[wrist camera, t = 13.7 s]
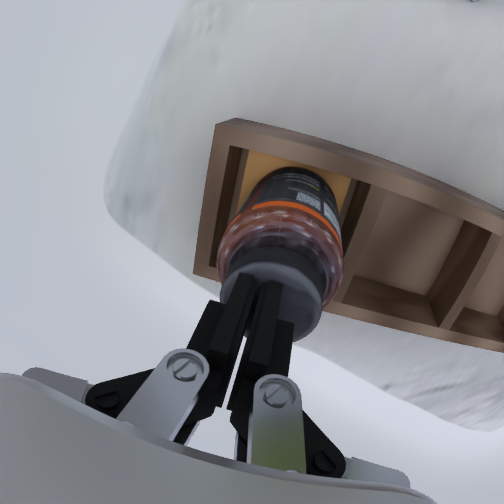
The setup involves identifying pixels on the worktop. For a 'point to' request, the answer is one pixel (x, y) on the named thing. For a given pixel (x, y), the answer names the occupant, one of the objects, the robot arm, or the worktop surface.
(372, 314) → the wooden compartment tray
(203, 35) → the worktop surface
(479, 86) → the worktop surface
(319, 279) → the supplement bottle
